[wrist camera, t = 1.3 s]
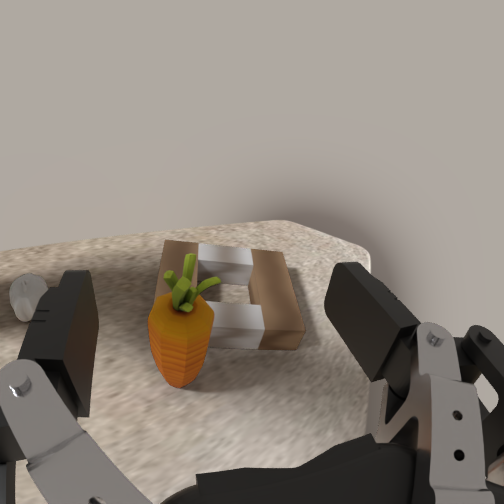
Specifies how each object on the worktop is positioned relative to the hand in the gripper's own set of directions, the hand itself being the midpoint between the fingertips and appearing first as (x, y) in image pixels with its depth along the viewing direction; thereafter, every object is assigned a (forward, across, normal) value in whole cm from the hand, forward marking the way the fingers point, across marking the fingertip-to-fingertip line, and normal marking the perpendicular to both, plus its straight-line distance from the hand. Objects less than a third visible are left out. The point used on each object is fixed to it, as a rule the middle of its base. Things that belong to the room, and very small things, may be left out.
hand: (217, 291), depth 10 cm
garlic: (+20, +18, +17) cm, 32 cm away
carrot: (+11, +1, +20) cm, 22 cm away
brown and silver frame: (+22, -6, +18) cm, 29 cm away
